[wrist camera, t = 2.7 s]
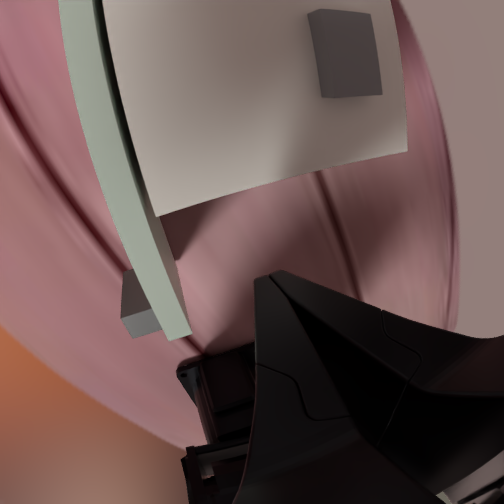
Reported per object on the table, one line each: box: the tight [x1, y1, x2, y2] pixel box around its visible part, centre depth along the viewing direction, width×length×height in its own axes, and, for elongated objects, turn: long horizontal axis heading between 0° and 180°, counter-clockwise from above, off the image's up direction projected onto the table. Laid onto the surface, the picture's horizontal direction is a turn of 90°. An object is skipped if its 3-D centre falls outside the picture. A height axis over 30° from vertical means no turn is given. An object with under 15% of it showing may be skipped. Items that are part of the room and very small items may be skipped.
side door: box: [58, 0, 192, 341], centre depth 8 cm, size 19×3×5 cm, turn 10°
